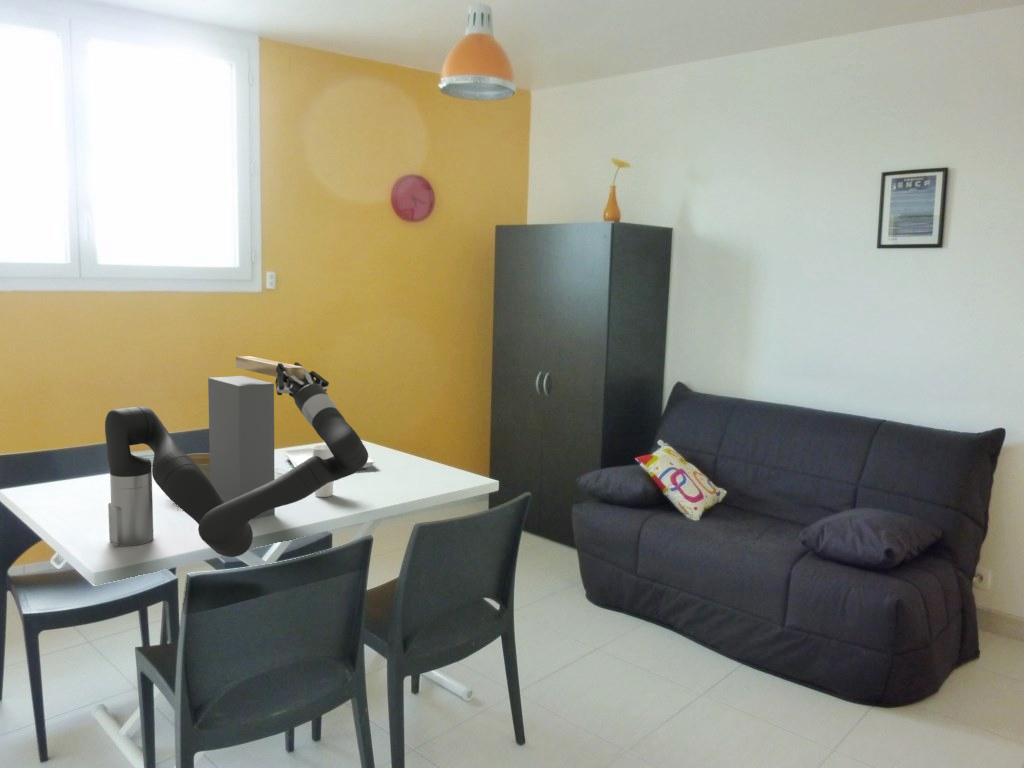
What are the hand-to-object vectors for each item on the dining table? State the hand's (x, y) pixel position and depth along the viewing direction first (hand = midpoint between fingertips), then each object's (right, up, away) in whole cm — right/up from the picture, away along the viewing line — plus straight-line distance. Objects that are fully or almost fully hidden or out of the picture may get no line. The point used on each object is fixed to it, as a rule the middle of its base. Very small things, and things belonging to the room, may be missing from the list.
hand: (287, 365), depth 199 cm
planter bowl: (-38, -38, +40) cm, 67 cm away
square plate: (-9, -34, +83) cm, 90 cm away
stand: (-20, -40, +25) cm, 51 cm away
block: (-7, -2, +8) cm, 10 cm away
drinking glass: (-1, -39, +42) cm, 58 cm away
